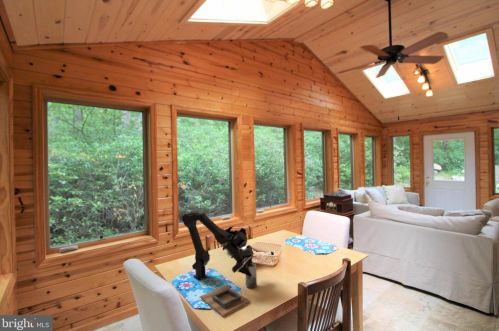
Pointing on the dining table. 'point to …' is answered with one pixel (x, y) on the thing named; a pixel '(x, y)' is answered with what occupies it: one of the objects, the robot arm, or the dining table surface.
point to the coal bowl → (235, 233)
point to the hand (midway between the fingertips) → (253, 273)
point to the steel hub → (252, 280)
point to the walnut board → (224, 300)
